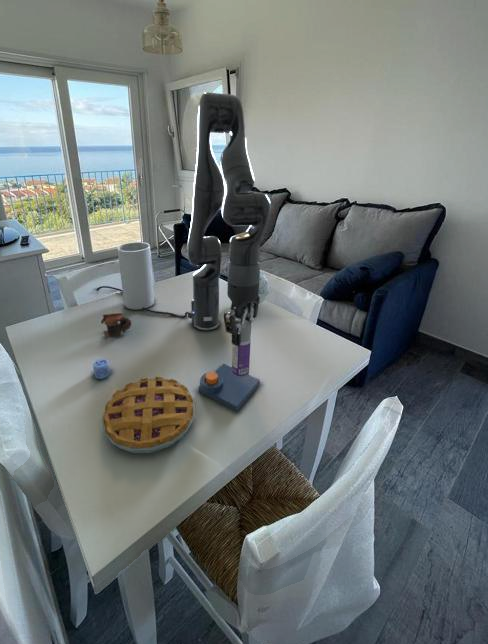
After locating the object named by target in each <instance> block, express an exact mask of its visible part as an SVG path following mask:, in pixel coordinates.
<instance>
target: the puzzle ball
mask: <svg viewBox="0 0 488 644" xmlns="http://www.w3.org/2000/svg"><path fill="white" fill-rule="evenodd" d="M269 291H270V284H269V280H268V278H267V276H265V274H264V273H262V272H261V271H260V279H259V296H260V299H259V305H260V304H261V303H263V302H264V301H265V300H266V299H267V296H268V295H269Z"/></svg>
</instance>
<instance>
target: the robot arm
mask: <svg viewBox="0 0 488 644" xmlns="http://www.w3.org/2000/svg"><path fill="white" fill-rule="evenodd" d="M212 133H214V134H230V136H231V137H230V139H229V140H228V142H227V144H226V145H225V147H224V148H223V150H222V153H221V155H220V159H219V163H218V160H217V159H216V156H215V154H214V151H213V146H212V140H211V139H212V138H211V137H212ZM196 150H197V151H196V164H195V173H194V182H193V195H192V212H191V221H190V228H189V232H188V239H187V245H186V255H187V260H188V263H189V264H190V265H191V266H194V267H200V266H201V268H200V269H198V270H196V271H195V272H194V273H193V274H192V291H193V292H192V295H193V297H192V298H193V299H192V300H191V302H190V308H191V309H190V310H189V311H185V312H184V315H178V314H175V313H172V312H168V311H159V310H152V309H149V308H142V309H141V310H143V311H146V312H148V313H152V314H153V313H154V314H159V315H160V314H161V315H168V316H173V317H175V318H176V317H177V318H181V319H184V318H188V319H191V325H193V326H194V327H195V329H197V330H199V331H205V332H206V331H213V330H216V329H217V328H218V327H219V326H220V277H221V273H222V256H223V254H222V252H223V249H222V244H221V241H220V240H219V237H217V236H215V235H210V236H205V233H206V231H207V228H208V227H209V225H210V224H211V222H212V221H213V220H214V218H215V217H216V216H217V214H219V213H218V212H219V211H220V210H221V216H222V219H223V221H224V222H225V223H226V224H227V226H230V227H243V226H244V227H246V226H249V227H248V228H247V229H246V230H245V231H244V232H242V233H238V234H234V235H233V236H231V237H230V239H229V243H228V245H229V246H228V248H229V249H228V266H227V297H228V298H229V300H230V301H231V303H230V308H229V311H228V312H224V313H223V316H222V318H223V324H224V328H225V333H227V334H230V335H231V345H232V344H233V345H236V346H239V345H240V343H241V333H240V332H241V328H242V325H244V322H245V320H247V321H249V322H250V323H251V324H253V322H254V319H256V318H257V315H258V310H259V305H260V304H259V299H260V296H259V279H260V272H261V267H260V266H261V265H260V259H261V257H260V256H261V253H260V252H261V244H262V240H263V237H264V233H265V231H266V228H267V225H268V222H269V221H270V220H269V219H270V217H271V211H272V204H271V200H270V198H269V197H268V195H267V194H265V193H264V192H259V191H257V192H256V191H255V192H250V191H251V190H252V189H253V188H254V185H255V176H254V172H253V169H252V165H251V162H250V158H249V154H248V153H249V152H248V147H247V134H246V124H245V114H244V108H243V103H242V101H241V98H240V97H239V96H237V95H235V94H230V93H229V94H228V93H219V92H203V93H202V95H201V96H200V99H199V104H198V113H197V147H196ZM100 289H111V290H114V291H119V292H121V293H122V294H123V290H122V288H117V287H115V286H108V285H102V286H101V285H100V286H99V287H98V288H96V291H99V290H100ZM239 319H241V321H239ZM236 324H238V328H236Z"/></svg>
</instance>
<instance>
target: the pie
mask: <svg viewBox="0 0 488 644" xmlns="http://www.w3.org/2000/svg"><path fill="white" fill-rule="evenodd" d="M193 398H194V397H192V394H191V392H190V391H189V389H188V387H187V386H185V385H184V384H181V383H180V382H179V381H178V380H177V379H173V378H169V379H167V378H163V377H162V376H155V377H154V378H148V377H144V378H140V380H139V381H136V382H132V381H131V382H129V383H127V384H125V386H124V387H123V388H121V389H117V390H115V391H114V393H113V394H112V397H111V398H110V399H109V400H108V401H107V402H106V404H105V408H104V411H103V414H102V417H101V423H102V429H103V431H102V432H103V434H104V435H105V436H106V438H107V439H108V440H109V441H110V443H111V444H112V445H113V446H116V447H118V448H119V449H120V450H122V451H125V452H128V453H132V454H153V453H156V452H159V451H161V450H164V449H167V448H169V447H172V446H173V445H174V444H175V443H177V442H179V441H180V440H181V439H182V438H183V436H184V435H185V433H187V432H188V431H189V428H190V427H191V425H192V423H193V421H194V419H195V411H196V409H195V408H196V405H195V403H196V402H195V401H194V399H193Z"/></svg>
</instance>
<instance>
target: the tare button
mask: <svg viewBox="0 0 488 644" xmlns="http://www.w3.org/2000/svg"><path fill="white" fill-rule="evenodd" d="M206 373H207V374H206V383H207V384H209V385H214V384H216V383H217V382H218V375H217V374H216V373H215V371H209V372H206Z"/></svg>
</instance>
